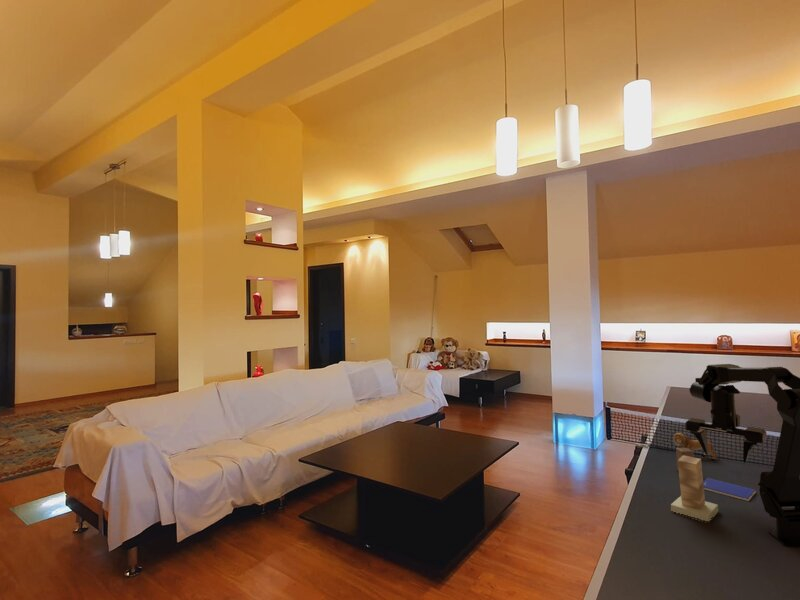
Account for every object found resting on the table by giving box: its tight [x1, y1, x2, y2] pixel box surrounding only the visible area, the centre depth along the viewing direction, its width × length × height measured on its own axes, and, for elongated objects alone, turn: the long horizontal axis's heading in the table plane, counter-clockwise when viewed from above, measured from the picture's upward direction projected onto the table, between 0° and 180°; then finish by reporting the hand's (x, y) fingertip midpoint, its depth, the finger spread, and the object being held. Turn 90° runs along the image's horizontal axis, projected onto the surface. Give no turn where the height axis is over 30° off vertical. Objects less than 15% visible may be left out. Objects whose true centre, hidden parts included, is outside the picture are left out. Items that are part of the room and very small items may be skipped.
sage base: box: [670, 495, 719, 522], centre depth 122 cm, size 9×9×2 cm
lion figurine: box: [672, 432, 719, 460], centre depth 161 cm, size 15×5×9 cm, turn 74°
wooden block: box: [675, 447, 695, 472], centre depth 148 cm, size 4×4×8 cm
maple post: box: [678, 455, 706, 510], centre depth 121 cm, size 4×4×13 cm
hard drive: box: [703, 477, 756, 502], centre depth 133 cm, size 2×8×12 cm
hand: (725, 458), depth 126 cm, fingers open, 9 cm apart
